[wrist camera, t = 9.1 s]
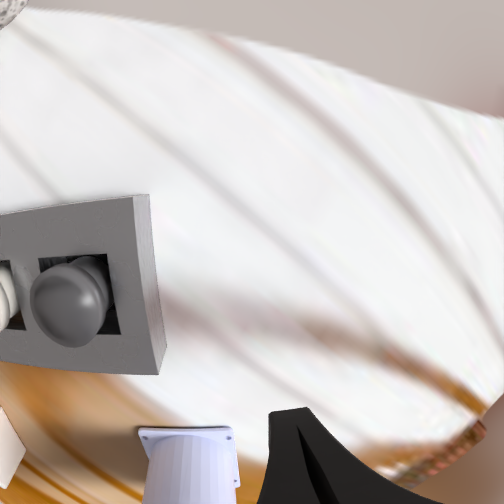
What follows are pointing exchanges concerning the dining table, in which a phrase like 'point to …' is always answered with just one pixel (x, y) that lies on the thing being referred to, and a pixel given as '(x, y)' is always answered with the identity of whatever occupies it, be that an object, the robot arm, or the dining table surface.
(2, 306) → the ivory key
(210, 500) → the robot arm
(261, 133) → the dining table surface
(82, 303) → the grey rounded knob
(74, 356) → the key console
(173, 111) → the dining table surface
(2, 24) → the mug
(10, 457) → the medicine bottle
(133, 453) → the dining table surface
